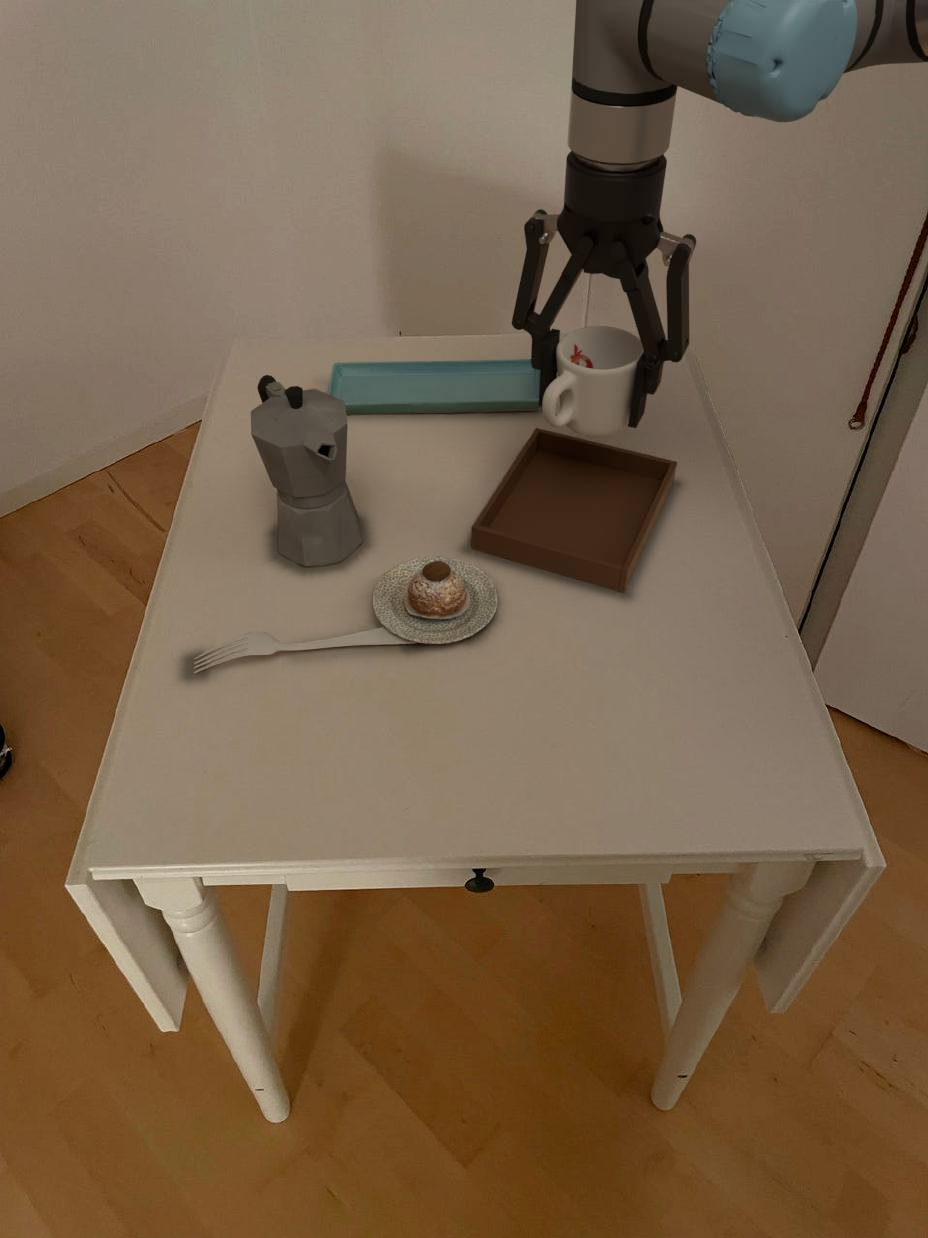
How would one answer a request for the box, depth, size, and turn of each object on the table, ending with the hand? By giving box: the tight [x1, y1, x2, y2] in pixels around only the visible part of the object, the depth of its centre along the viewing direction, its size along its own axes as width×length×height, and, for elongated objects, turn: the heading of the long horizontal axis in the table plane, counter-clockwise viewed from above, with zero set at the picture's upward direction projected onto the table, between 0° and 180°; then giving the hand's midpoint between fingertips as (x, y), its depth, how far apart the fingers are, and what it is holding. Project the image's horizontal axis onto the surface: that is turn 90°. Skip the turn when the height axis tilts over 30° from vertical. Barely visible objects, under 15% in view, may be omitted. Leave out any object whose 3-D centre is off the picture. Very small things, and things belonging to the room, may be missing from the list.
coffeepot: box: [250, 374, 363, 568], centre depth 89 cm, size 15×9×18 cm, turn 32°
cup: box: [541, 325, 644, 438], centre depth 84 cm, size 11×8×8 cm
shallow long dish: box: [327, 358, 541, 415], centre depth 111 cm, size 26×9×2 cm, turn 89°
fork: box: [193, 626, 418, 674], centre depth 85 cm, size 3×21×3 cm, turn 100°
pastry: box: [371, 555, 499, 645], centre depth 86 cm, size 12×12×5 cm
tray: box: [471, 427, 678, 594], centre depth 96 cm, size 16×18×3 cm
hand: (591, 408), depth 85 cm, fingers closed on cup, 8 cm apart
